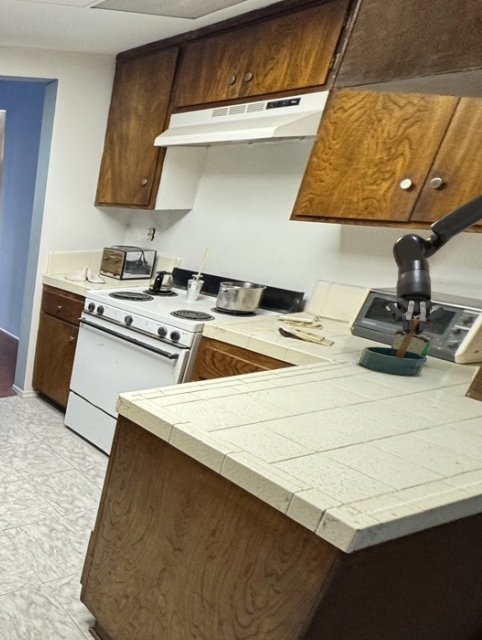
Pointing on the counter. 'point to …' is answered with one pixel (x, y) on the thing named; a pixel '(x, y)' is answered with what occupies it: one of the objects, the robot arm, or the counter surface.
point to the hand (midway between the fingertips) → (413, 332)
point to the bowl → (392, 361)
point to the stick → (407, 339)
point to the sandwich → (415, 342)
